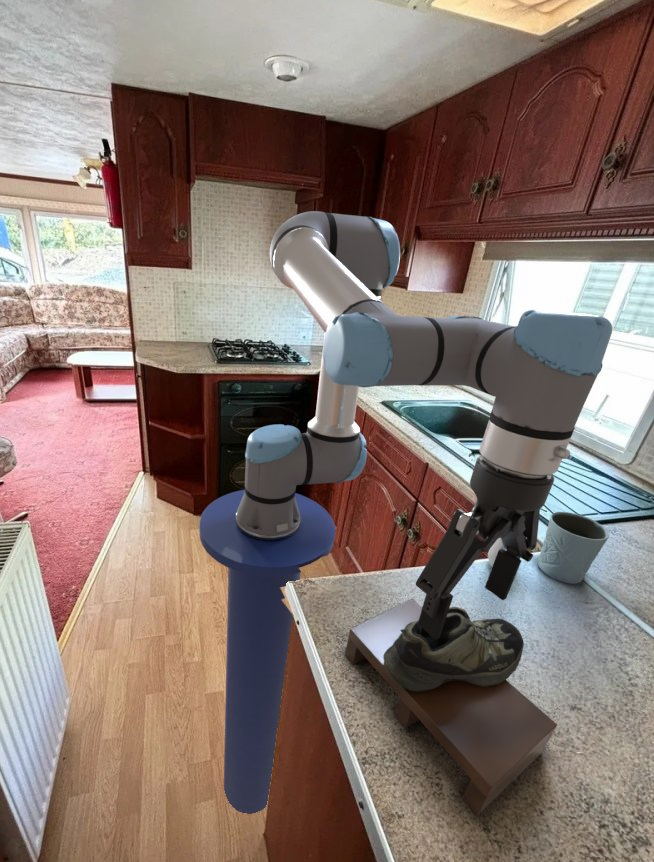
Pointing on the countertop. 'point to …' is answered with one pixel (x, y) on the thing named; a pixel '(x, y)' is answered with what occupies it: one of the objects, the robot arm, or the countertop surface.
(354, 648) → the shoe shelf
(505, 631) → the hiking shoe
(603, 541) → the embossed plant pot
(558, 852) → the countertop surface
